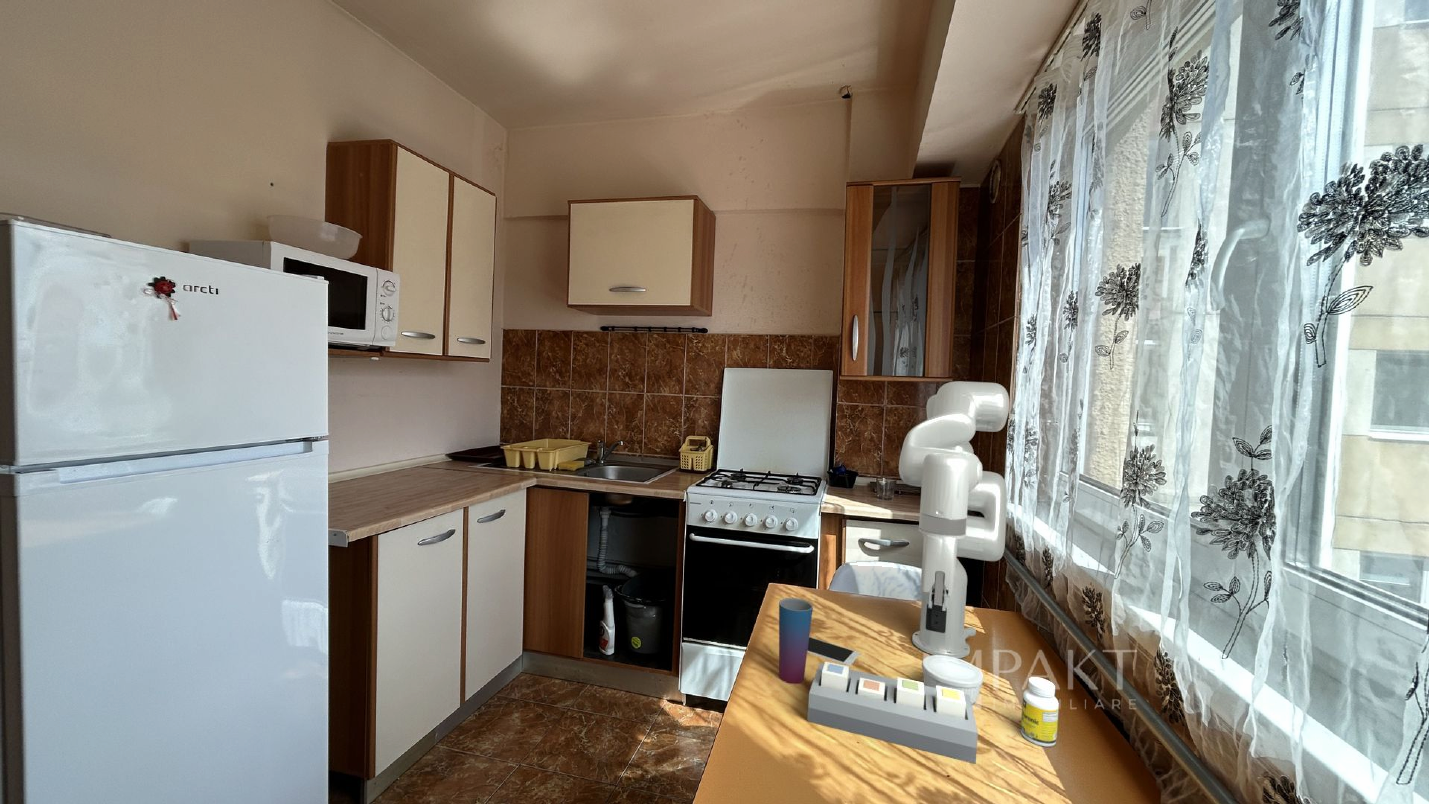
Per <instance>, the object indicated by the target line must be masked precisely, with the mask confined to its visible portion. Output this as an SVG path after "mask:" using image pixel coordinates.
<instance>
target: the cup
mask: <svg viewBox="0 0 1429 804" xmlns="http://www.w3.org/2000/svg"><path fill="white" fill-rule="evenodd" d="M813 609H814V606H813V604H812V602H810V601H808V600H806V599H803V598H799V597H798V598H797V597H786V598H782V599H780V600H779V602H778V677H779V679H780V680H781V681H783V682H784V683H787V684H793V685H796V684H800V683H802V682H804V681H805V673H806V665H807V658H808V657H807V656H808V653H807V650H808V642H809V637H810V633H811V625H812V617H813Z"/></svg>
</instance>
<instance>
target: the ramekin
mask: <svg viewBox="0 0 1429 804" xmlns="http://www.w3.org/2000/svg"><path fill="white" fill-rule="evenodd" d="M921 667H922V672H923V683H924V686H929V687H933V688H936V685H937V686H942V687H946V688H951V689H956V690H960V691H963V692H964V694H966V695H970V699H971V704H972V705H974V703H976V702H977V700H978V698H979V694H980V691H981V688H982V684H983V683H984V674H983V672H982V671H981V670H980V669H979V668H978V666H976V665H974V664H971V663H970V662H968V661H966V660H963V659H962V658H954V657H950V656H943V655H932V654H931V655H929V656H928V655H927V656H926V657H924V658H923V660H922V662H921Z"/></svg>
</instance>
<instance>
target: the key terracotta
mask: <svg viewBox="0 0 1429 804" xmlns="http://www.w3.org/2000/svg"><path fill="white" fill-rule="evenodd" d="M884 691H885V683H883V682H879V681H874V680H870V679H865V678H860V682H859V688H858V695H861V696H866V697H870V698H874V699H879V700H883V701H884Z"/></svg>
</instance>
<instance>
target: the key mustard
mask: <svg viewBox="0 0 1429 804" xmlns="http://www.w3.org/2000/svg"><path fill="white" fill-rule="evenodd" d="M935 706H936V713H940V714H944V715H948V716H953V717H957V718H962V719H965V710H966V702H965V697H964V692H963V691H960V690H956V689H951V688H946V687H942V686H937V685H936V697H935Z"/></svg>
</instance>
